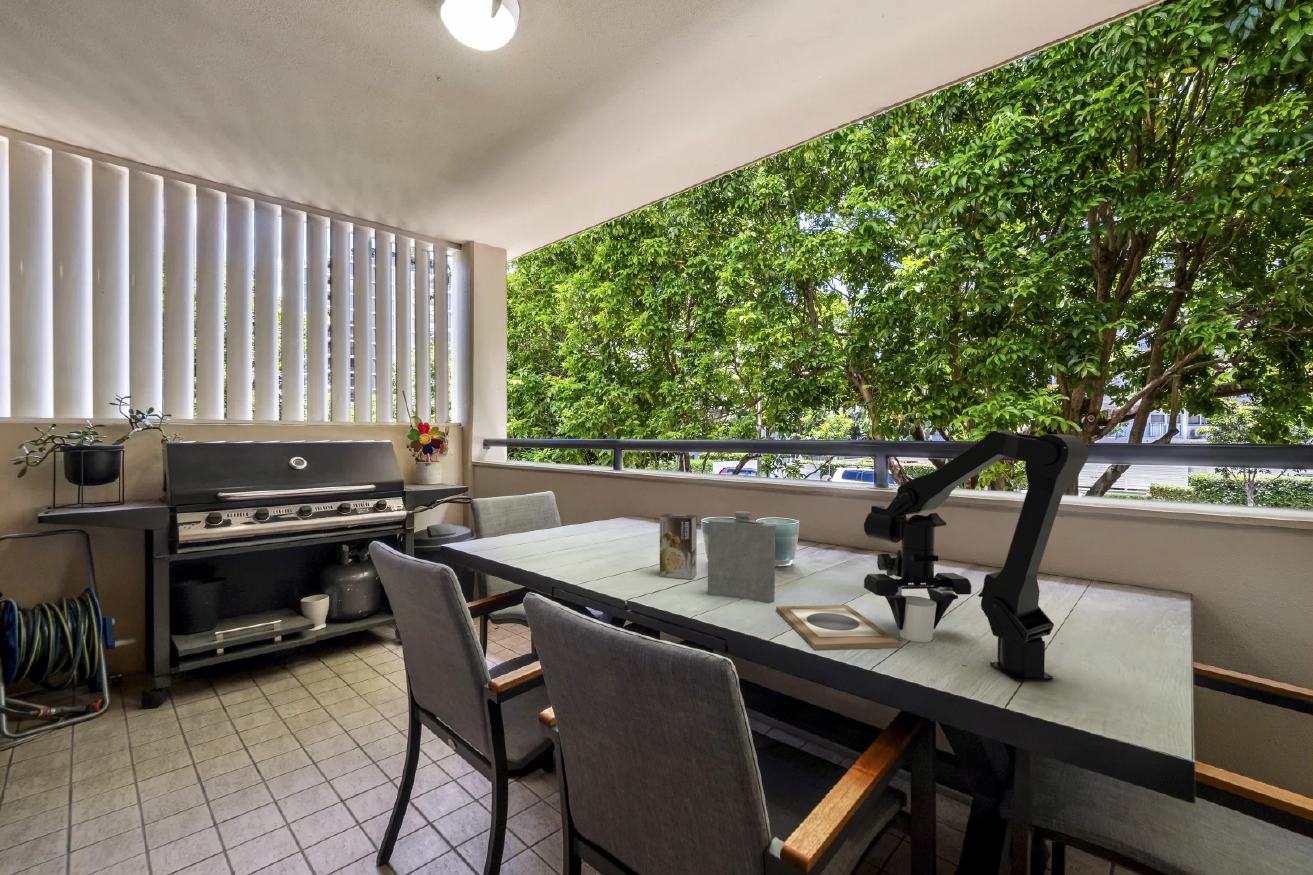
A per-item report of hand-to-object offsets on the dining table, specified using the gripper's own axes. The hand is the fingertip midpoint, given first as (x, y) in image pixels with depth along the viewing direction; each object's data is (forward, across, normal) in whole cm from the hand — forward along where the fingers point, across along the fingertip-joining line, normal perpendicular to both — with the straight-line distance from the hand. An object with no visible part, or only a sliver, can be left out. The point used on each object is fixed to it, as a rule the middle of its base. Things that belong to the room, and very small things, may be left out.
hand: (916, 628), depth 109 cm
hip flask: (+2, +27, -28) cm, 39 cm away
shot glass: (+2, 0, 0) cm, 2 cm away
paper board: (+2, +14, -6) cm, 15 cm away
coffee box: (+2, +39, -48) cm, 62 cm away
